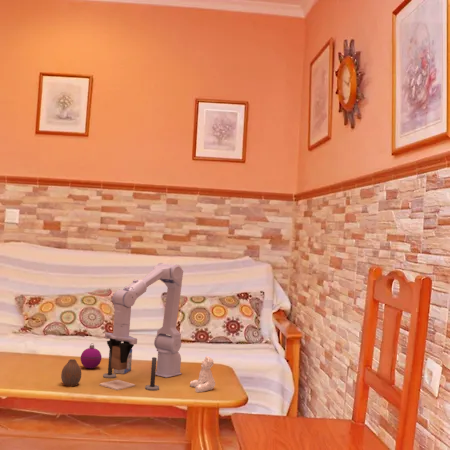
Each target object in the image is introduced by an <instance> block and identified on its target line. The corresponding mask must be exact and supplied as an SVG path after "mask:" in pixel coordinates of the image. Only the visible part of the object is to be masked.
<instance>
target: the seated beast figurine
mask: <svg viewBox="0 0 450 450" xmlns="http://www.w3.org/2000/svg"><path fill="white" fill-rule="evenodd" d="M214 365H215V364H214V359H213V358H212V357H210V356H208V355H206V356H205V357H204V359H203V360H202V361H201V365H200V367H201V368H200V371H199V375H198V379H194V380H191V381H190V383H189V387H191V388H195V389H194V391H195V393H204V392H208V391H211V390H213V389H214V388H215V387H216V381H215V377H214V376H213V373H212V372H213V371H212V370H211V368H212V367H213V366H214Z"/></svg>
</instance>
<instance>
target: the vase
mask: <svg viewBox="0 0 450 450" xmlns="http://www.w3.org/2000/svg"><path fill="white" fill-rule="evenodd" d="M60 376H61V383H62V384H63V385H64V386H66V387H75V386H78V384H80V381H81V380H82V368H81V366H80V365H79V364H78V362H77V360H76V359H74V358H72V359H71V358H70V359H69V360H68V361H67V363H66V364H65V365H64V366H63V368H62V370H61V374H60Z"/></svg>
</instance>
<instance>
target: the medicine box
mask: <svg viewBox="0 0 450 450" xmlns="http://www.w3.org/2000/svg"><path fill="white" fill-rule="evenodd" d="M132 360H133V348H132V349H131V351H130V353H129V355H128V359H127V369H123V370H115V369H113V374H116V375H118V374H119V375H125V374H126V373H128V372H130V371H131V370H132Z"/></svg>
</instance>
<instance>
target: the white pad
mask: <svg viewBox="0 0 450 450" xmlns="http://www.w3.org/2000/svg"><path fill="white" fill-rule="evenodd" d="M99 386H101V387H106V388H108V389H112V390H115V391H119V390H123V389H127V388H132V387H136V384H135V383H130V382H128V381H124V380H121V379H115V380H111V381H110V380H109V381H105V382H101V383H99Z"/></svg>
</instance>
